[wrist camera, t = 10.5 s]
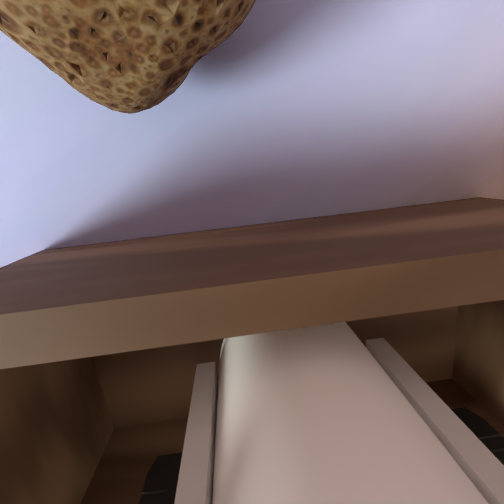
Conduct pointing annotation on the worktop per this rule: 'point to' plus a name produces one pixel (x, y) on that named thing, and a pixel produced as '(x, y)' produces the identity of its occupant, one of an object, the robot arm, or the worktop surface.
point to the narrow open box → (228, 330)
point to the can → (323, 427)
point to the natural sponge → (122, 42)
